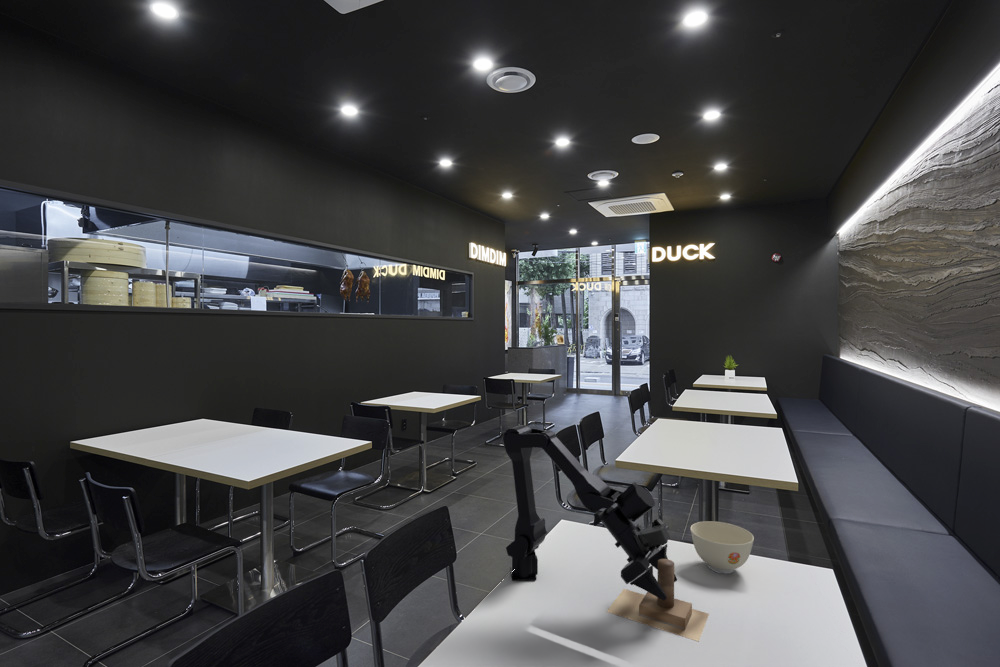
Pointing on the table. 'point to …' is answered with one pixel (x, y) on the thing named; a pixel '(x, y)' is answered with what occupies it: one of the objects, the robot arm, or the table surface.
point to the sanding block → (670, 608)
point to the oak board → (629, 609)
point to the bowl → (722, 545)
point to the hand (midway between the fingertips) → (670, 590)
